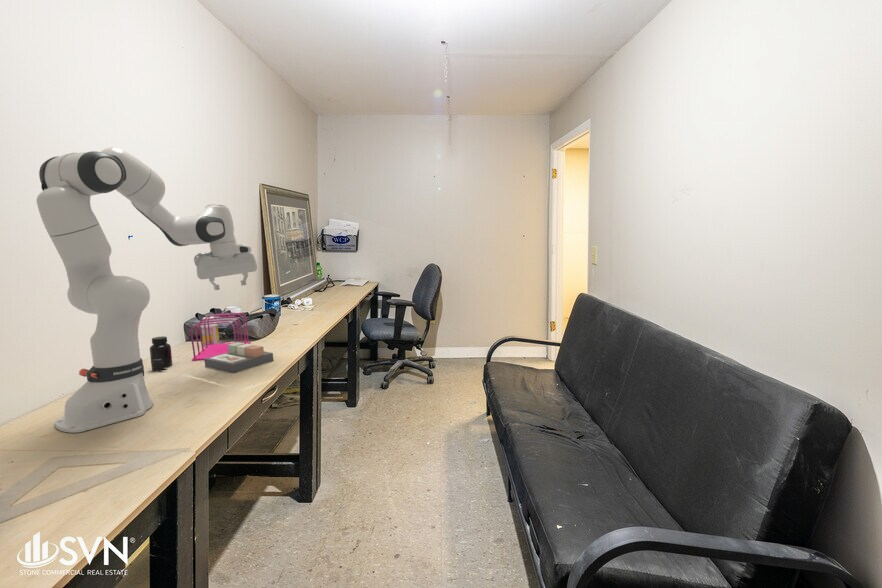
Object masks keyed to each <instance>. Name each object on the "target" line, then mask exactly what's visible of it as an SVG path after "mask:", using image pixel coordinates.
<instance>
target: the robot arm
mask: <svg viewBox="0 0 882 588" xmlns="http://www.w3.org/2000/svg"><path fill="white" fill-rule="evenodd" d="M38 173H39V174H38V175H39V180H40V181H39V182H40V183H41V190H42V191H41V192H40V193H39V194H38V195H37V197H36V205H37V209H38V212H39V215H40V219H41V220H42V223H43V225H44V228H45V230H46V233H47V234H48V236H49V237H50V239H51V241H52V243H53V246H54V247H55V249H56V252H57V253H58V255H59V257H60V258H61V260H62V263H63V266H64V267H65V273H66V277H67V281H68V285H69V286H68V288H67V299H68V301H69V303H70V304H71V306H73V307H74V308H75V309H78V310H80V311H81V312H85V313H88V314H93V315H97V322H96V327H95V331H94V333H93V334H92V335H91V337H90V341H89V343H90V350H91V356H92V357H91V358H92V363H93V365H92V366H91V368H90V369H86V368H81V369H80V370H79V371H78V375H79V376H81V377H86V380H87V381H86V382H84V384H83V385H82V386H81V387H80V388H78V389H77V390H76V391H75V392H74V393H73V394H72V395H71V396H70V397H68V398H67V400H66V401H65V405H64V413H63V414H64V416H62V417H59V418H58V419H56V420H55V421H54V427H55V428H56V429H57V430H59V431H61V432H64V433H73V434H74V433H82V432H86V431H90V430H94V429H97V428H101V427H104V426H109V425H111V424H115V423H120V422H122V421H123V422H124V421H126V420H130V419H134V418H137V417H141V416H143V415H144V414H145V412H146V411H147V410H149V409H150V408H151V407H153V401H152V399H151V396H150V394H149V392H148V388H147V385H146V382H145V367H144V363H143V361H144V360H143V359H142V358H141V352H140V342H139V328H140V327H139V326H140V320H141V317H142V313H143V312H144V310H145V309H146V308H147V306H148V305H149V303H150V299H151V294H150V290H149V287H148V286H147V284H145V283H144V282H143V281H141V280H139V279H136V278H133V277H130V276H126V275H115V274H114V273H113V272H112V269H111V263H110V257H111V254H112V247H111V244H110V243H109V241H108V239H107V237H106V234H105V232H104V231H103V229H102V227H101V224H100V223H99V221H98V218H97V217H96V215H95V213H94V211H93V210H92V209H93V208H92V206H91V196H96V195H100V194H107V193H111V192H114V191H116V192H118V193H120V194H121V195H122V196H123V197H125V198H126V199H127V200H129V201H130V204H132V205H133V207H134V208H135V209H136V210H137V211H138V213H140V214H142V216H144V217H145V218H146V219H147V220H148V221H150V222H151V223H152V224H154V225H155V226H156V227H157V228H158V229H159V230H160V231H161V232H162V233H163V235H164V236H165V237H166V239H167V240H168V241H169V242H170V244H172V245H173V246H176V247H186V246H190V245H191V246H192V245H204V244H209V249H210V251H206V252H203V253H202V252H200V253H197V254H196V255H195V256H193V257H194V258H193V262H194V264H195V266H196V275H197V278H198V279H199V280H208V281H209V282H210V283H211V284H212V286H213V288H214V291H219V290H221V289H220V285H219V284H216V282H215V281H216V280H215V278H221V277H227V276H233V275H241V274H242V276H243V278H242V280H240V285H241V286H242V287H243V286H247V279H248V277H249V273H253V272H256V271H257V269H258V266H257V261H256V259H255V256H254V255H255V254H254V253H252V248H251V246H248V245H243V244H238V243H237V239H236V237H235V234H234V231H235V226H234V221H233V217H232V213H231V210H230V209H229V208H228V207H227V206H226V205H223V204H208V205H206V206H205V207H204V209H203V210H202V211H201V212H200V213H198V214H196V215H193V216H179V215H174V214H172V212H170V211H169V210H168V209H167V208H166V207H164V205H162V204H161V201H162V200H163V198H164V196H165V193H166V185H165V181H164V180H163V179H162V178H161V176H160V175H159V174H158V173H157V172H156V171H154V170H153V169H152V168H150V166H148V165H146V164H145V163H144V162H142V161H141V160H140V159H138V158H137V157H135V156H134V155H132V154H131V153H130V152H127V151H126V150H123V149H121V148H119V147H113V146H111V147H106V148H104V149H102V150H101V151H98V150H97V151H96V150H95V151H87V152H70V153H66V154H62V155H59V156H58V155H57V156H53V157H50V158H49V159H46V160H45V161H44V162H43V163H42V164H41V165H40V167H39V172H38Z"/></svg>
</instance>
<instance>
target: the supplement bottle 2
mask: <svg viewBox="0 0 882 588" xmlns="http://www.w3.org/2000/svg"><path fill="white" fill-rule="evenodd" d="M206 317H207V316H205V317H203V318H202V320H203V319H205V318H206ZM210 318H215V316H214V317H210ZM207 319H208V318H207ZM213 320H215V319H212V320H209V321H213ZM206 321H207V320H206ZM209 323H217V322H209ZM202 324H204V323H202ZM205 324H206V323H205ZM218 325H219V324H211V325H209V328H210V338H211V344H220V335H219V326H218ZM200 328H201V335H202V342H203V347H204V348H205V347H206V341H205V330H204V325H201V326H200ZM206 335H207V345H209V344H210V342H209V333H208V325H206Z"/></svg>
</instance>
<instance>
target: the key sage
mask: <svg viewBox="0 0 882 588" xmlns="http://www.w3.org/2000/svg"><path fill="white" fill-rule="evenodd" d="M236 342H237V343H234V342H232V343H233V344H229V345H228V352H229V353H230V354H237V346H240V345H244V344H245V343H239V342H238V341H236Z"/></svg>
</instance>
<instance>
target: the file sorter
mask: <svg viewBox="0 0 882 588" xmlns="http://www.w3.org/2000/svg"><path fill="white" fill-rule="evenodd" d="M237 316H240V317H241V318H242V326H241V320H240V319H239V318H238V317H237ZM205 317H206V318H205V319H203V318H202V319H201V320H200V321H199V322H198V323H197V324H194V325H193V326H191V329H190V339H191V346H192V353H193V354H192V355H193V357H192V359H191V361H192V362H197V361H204V359H205V358H209V357H213V356H217V355H220V354H224V353H228V345H229V344H233V343H237V342H239V343H245V344H251V341H249V333H248V332H249V330H248V318H247V316H246V314H244V313H243V312H229V313H215V314H214V313H213V314H210V315H207V316H205ZM210 317H214V318H210ZM207 318H208V319H207ZM232 318H234V319H232ZM212 319H214V320H213V321H209V320H212ZM235 319H236V320H237V321H236V320H235ZM206 320H207V321H206ZM231 321H232V322H234V323H235V325H236V328H235V325H234V324H233V323H232V322H231ZM209 322H216V323H209ZM203 323H204V324H203ZM205 323H206V324H205ZM211 324H218V325H221V324H229V325H231V326H232V329H233V339H234V342H224V343H220V344H211V338H210V328H209V325H211ZM201 325H204V330H205V341H206V347H205V346H204V345H203V338H202V330H201ZM206 325H208V333H209V342H210V344H209V345H207V335H206ZM242 328H243V334H242ZM193 329H194V332H195V333H194V334H195V339H196V347H197V354H196V350H195V348H196V347H195V344H194V343H195V341H194V337H193ZM198 332H199V333H198ZM236 332H237V335H236ZM198 334H199V337H200V345H201V351H200V345H199V337H198ZM243 339H244V341H243Z"/></svg>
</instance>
